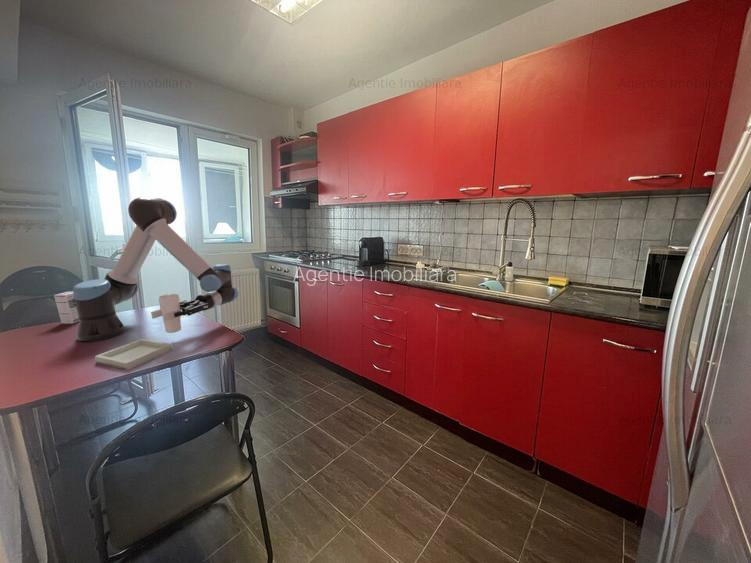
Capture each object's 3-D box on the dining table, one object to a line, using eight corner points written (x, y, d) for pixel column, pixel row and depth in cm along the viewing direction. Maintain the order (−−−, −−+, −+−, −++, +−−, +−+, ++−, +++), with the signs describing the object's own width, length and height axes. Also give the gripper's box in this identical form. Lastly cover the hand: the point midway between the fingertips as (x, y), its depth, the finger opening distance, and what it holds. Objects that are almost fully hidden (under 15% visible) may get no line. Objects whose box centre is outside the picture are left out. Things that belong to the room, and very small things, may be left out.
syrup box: (73, 323, 141) (66, 294, 138) (60, 323, 141) (53, 294, 138) (84, 319, 147) (78, 291, 144) (73, 319, 147) (66, 291, 144)
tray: (96, 362, 104) (94, 356, 104) (143, 344, 119) (142, 338, 119) (127, 370, 99) (126, 363, 99) (172, 349, 114) (171, 343, 114)
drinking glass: (187, 329, 124) (182, 294, 121) (171, 335, 118) (166, 299, 115) (175, 327, 127) (170, 293, 123) (159, 332, 120) (154, 297, 117)
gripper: (225, 310, 135) (178, 328, 114) (193, 306, 141) (142, 322, 120) (223, 295, 133) (175, 310, 112) (191, 291, 139) (139, 304, 118)
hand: (158, 316), depth 116 cm, fingers closed on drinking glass, 6 cm apart
